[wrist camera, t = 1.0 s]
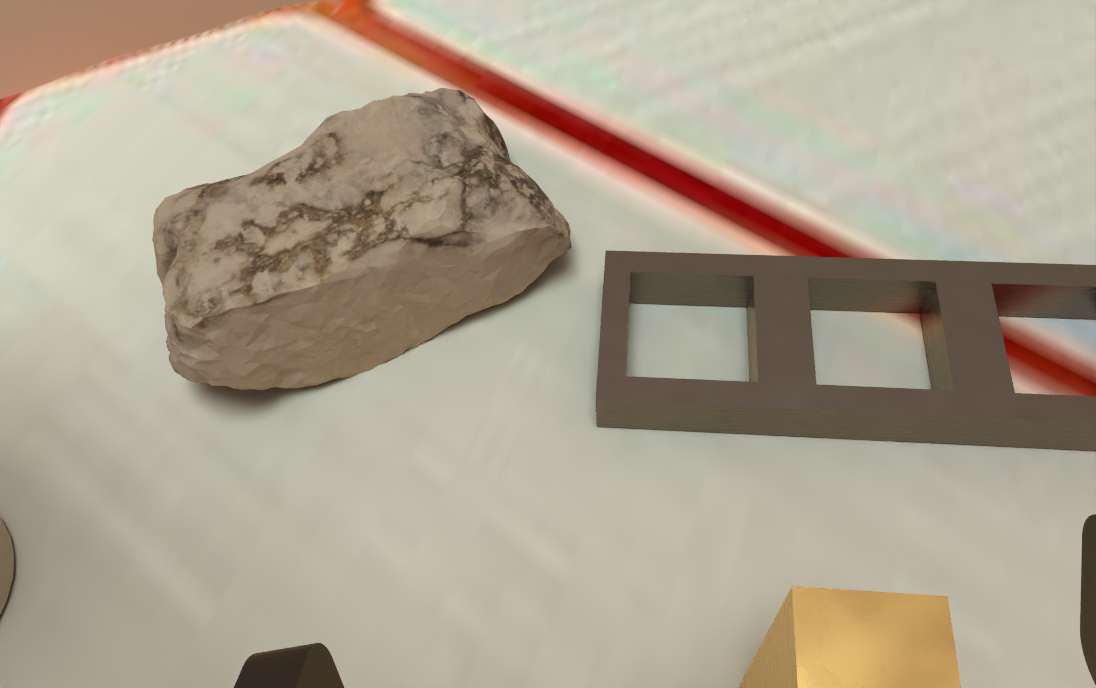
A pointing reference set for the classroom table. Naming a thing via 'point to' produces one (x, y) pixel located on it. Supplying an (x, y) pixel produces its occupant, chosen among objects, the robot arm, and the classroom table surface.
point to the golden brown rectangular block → (857, 642)
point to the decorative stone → (350, 245)
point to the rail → (788, 359)
